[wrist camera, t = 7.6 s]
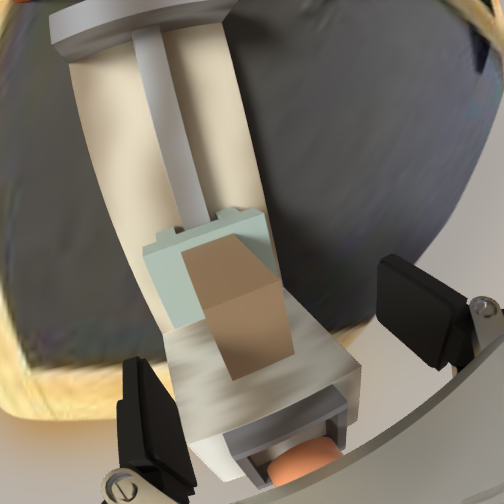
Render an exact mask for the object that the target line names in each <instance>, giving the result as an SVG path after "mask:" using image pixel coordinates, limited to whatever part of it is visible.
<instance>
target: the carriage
mask: <svg viewBox="0 0 504 504" xmlns="http://www.w3.org/2000/svg"><path fill="white" fill-rule="evenodd" d="M215 215H216V219H217V220H215V221H212V222H210V223H207V224H204V225H201V226H198V227H195V228H192V229H190V230H187V231H184V232H181V233H179V234H176V233H175V230H174V228H173V227H171V228H168V229H165V230H163V231H160V232H157V233H156V240H157V242H154V243H151V244H149V245H146V246H143V247H142V257H143V259H144V262H145V264H146V267H147V269H148V271H149V274H150V276H151V278H152V281H153V283H154V285H155V288H156V290H157V292H158V294H159V297H160V299H161V301H162V303H163V305H164V308H165V310H166V312H167V314H168V316H169V318H170V320H171V323H172V325H173V327H174V329H177V328H180V327H183V326H186V325H188V324H191V323H193V322H196V321H199V320H201V319H204V318H206V320H207V323H208V325H209V328H210V330H211V333H212V335H213V337H214V340H215V342H216V344H217V347H218V349H219V351H220V354H221V356H222V358H223V361H224V363H225V365H226V367H227V370H228V372H229V374H230V376H231V378H232V381H234V380H237V379H239V378H242V377H244V376H246V375H249V374H251V373H254V372H256V371H258V370H261V369H263V368H265V367H267V366H270V365H272V364H274V363H276V362H278V361H281V360H283V359H285V358H287V357H289V356H291V355H294V354H295V352H294V347H293V342H292V337H291V332H290V327H289V322H288V317H287V312H286V307H285V302H284V297H283V292H282V287H281V283H280V280H279V279H278V275H277V270H276V265H275V261H274V256H273V252H272V247H271V242H270V238H269V233H268V229H267V224H266V220H265V215H264V213H263V212H261V211H259V210H257V209H256V208H251V209H248V210H245V211H242V212H239V211H238V210H236V209H235V208H234V207H229V208H226V209H223V210H220V211H217V212H215Z"/></svg>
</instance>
